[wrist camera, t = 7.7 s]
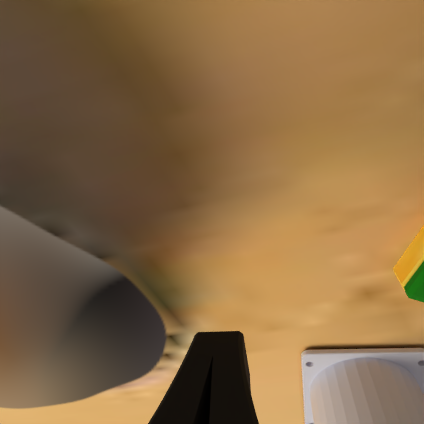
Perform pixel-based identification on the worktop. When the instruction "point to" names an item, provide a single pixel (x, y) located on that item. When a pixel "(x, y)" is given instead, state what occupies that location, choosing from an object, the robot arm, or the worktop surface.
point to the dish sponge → (412, 268)
